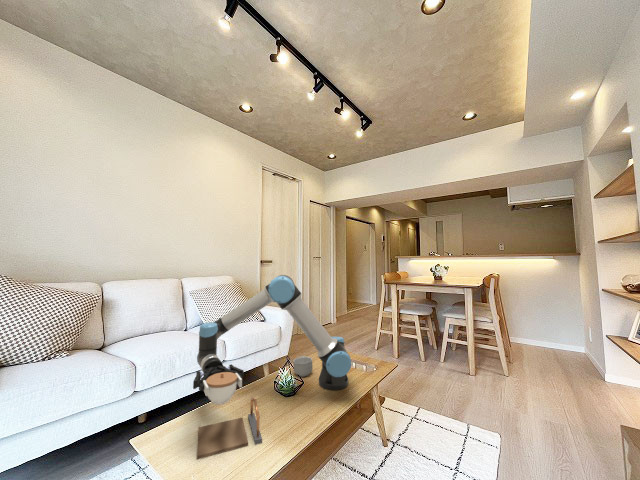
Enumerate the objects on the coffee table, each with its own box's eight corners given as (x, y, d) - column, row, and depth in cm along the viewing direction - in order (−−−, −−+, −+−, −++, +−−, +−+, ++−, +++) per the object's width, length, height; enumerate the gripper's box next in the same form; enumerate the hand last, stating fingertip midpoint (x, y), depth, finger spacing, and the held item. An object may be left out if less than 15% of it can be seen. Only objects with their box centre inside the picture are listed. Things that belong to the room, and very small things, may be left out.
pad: (242, 420, 106) (242, 417, 106) (248, 445, 91) (248, 442, 91) (198, 430, 99) (198, 427, 99) (196, 459, 85) (196, 456, 85)
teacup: (309, 379, 141) (309, 363, 142) (290, 377, 144) (290, 362, 144) (315, 369, 155) (315, 354, 156) (297, 367, 157) (297, 353, 158)
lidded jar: (228, 390, 104) (229, 365, 104) (242, 400, 96) (242, 373, 97) (200, 400, 96) (201, 373, 97) (212, 412, 89) (213, 382, 89)
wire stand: (254, 416, 108) (254, 413, 108) (262, 442, 92) (262, 438, 92) (248, 418, 107) (248, 414, 107) (255, 444, 91) (255, 440, 91)
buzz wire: (252, 414, 107) (253, 389, 107) (259, 436, 93) (259, 408, 94) (250, 414, 106) (250, 390, 107) (256, 437, 93) (257, 409, 93)
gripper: (239, 369, 118) (256, 389, 99) (180, 382, 105) (187, 408, 87) (239, 352, 118) (256, 369, 100) (181, 362, 106) (188, 384, 87)
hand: (224, 387), depth 93 cm, fingers closed on lidded jar, 11 cm apart
